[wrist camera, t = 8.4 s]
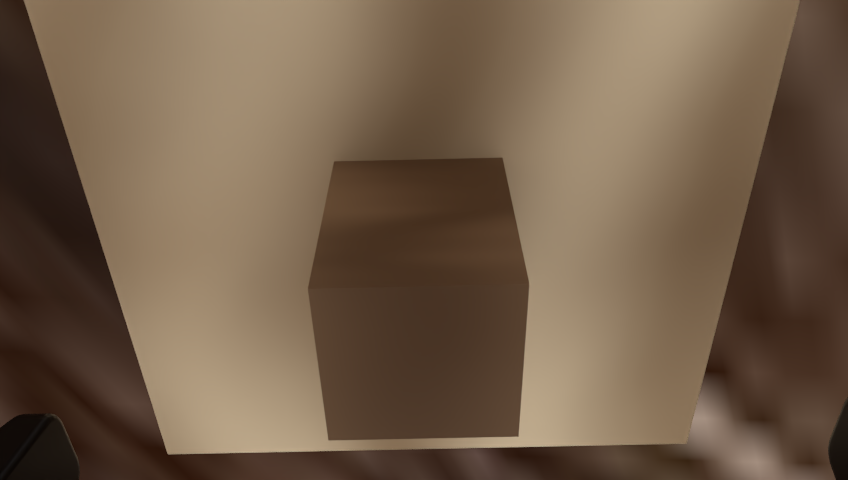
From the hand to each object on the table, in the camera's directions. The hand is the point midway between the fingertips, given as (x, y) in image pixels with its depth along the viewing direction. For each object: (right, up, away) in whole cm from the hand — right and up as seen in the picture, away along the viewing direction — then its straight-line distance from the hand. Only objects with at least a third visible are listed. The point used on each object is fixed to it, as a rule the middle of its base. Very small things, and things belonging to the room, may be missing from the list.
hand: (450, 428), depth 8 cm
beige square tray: (0, +3, +7) cm, 8 cm away
